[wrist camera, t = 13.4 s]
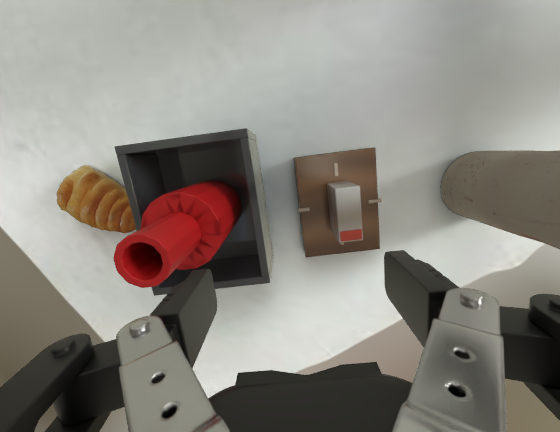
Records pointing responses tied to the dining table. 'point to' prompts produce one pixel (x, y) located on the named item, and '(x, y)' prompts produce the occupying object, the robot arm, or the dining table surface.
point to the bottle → (178, 232)
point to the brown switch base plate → (315, 199)
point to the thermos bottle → (508, 191)
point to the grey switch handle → (345, 211)
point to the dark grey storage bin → (196, 168)
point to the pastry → (96, 200)
